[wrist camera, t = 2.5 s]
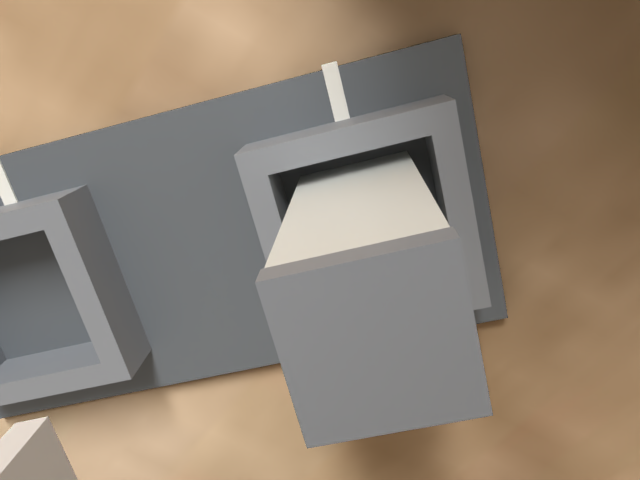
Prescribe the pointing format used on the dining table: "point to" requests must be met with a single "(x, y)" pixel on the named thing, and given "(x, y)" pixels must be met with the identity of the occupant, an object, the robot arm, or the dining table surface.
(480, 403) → the plug
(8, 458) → the robot arm
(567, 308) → the dining table surface
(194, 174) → the patch panel
